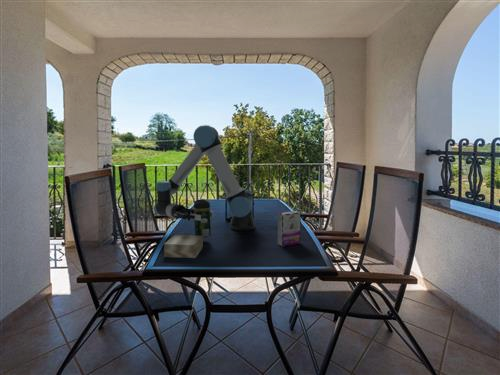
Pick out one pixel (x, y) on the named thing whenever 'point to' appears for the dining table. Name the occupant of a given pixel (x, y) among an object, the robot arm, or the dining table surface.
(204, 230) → the coffee jar
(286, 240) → the candy bar box
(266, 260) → the dining table surface
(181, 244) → the birch block
